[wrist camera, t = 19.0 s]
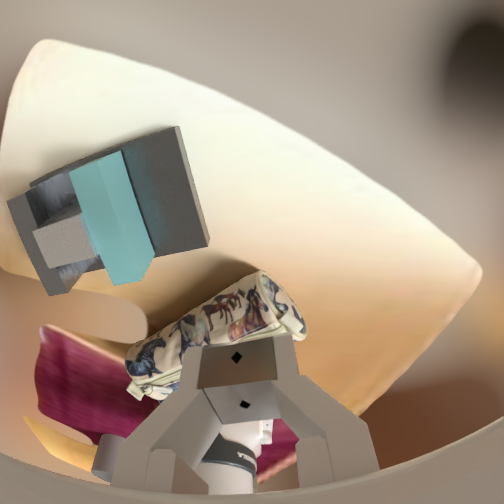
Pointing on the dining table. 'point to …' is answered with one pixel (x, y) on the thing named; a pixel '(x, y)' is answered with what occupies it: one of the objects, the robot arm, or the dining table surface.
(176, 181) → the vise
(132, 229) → the bar
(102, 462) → the cup
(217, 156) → the dining table surface
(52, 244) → the steel block
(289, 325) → the pencil case
